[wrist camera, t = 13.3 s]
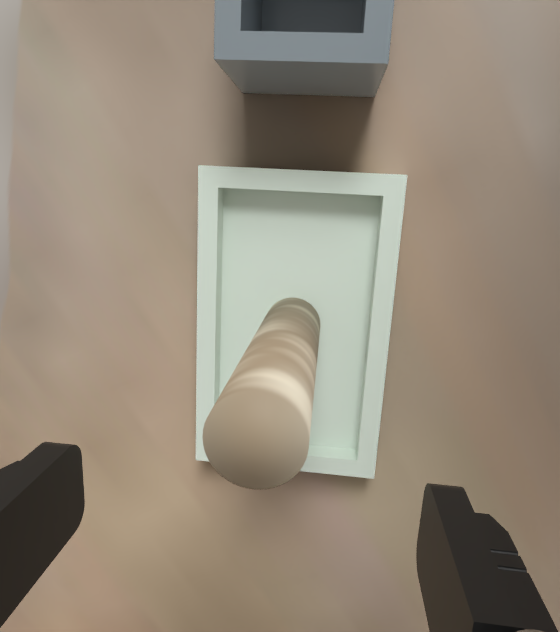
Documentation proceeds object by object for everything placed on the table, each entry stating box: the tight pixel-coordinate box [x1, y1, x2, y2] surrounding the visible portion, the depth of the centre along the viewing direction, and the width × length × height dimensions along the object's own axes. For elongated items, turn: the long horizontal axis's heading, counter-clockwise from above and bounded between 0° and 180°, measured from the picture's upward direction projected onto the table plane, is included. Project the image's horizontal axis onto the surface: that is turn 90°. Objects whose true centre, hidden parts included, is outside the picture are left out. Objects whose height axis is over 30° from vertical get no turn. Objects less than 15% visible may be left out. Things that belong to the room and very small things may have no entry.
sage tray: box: [196, 165, 407, 479], centre depth 26 cm, size 10×16×2 cm, turn 177°
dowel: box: [202, 298, 320, 490], centre depth 20 cm, size 3×3×13 cm
